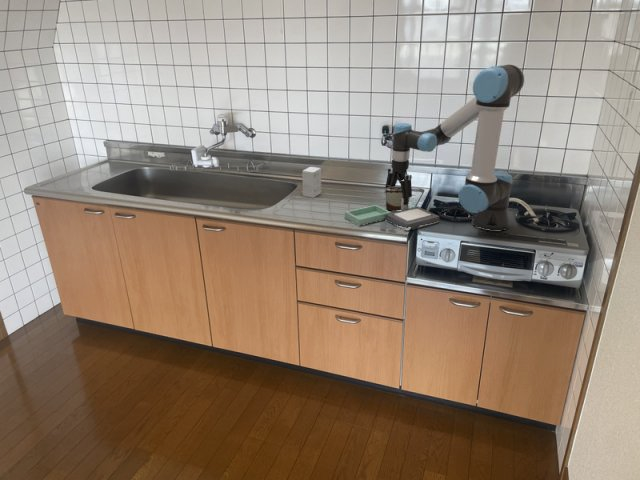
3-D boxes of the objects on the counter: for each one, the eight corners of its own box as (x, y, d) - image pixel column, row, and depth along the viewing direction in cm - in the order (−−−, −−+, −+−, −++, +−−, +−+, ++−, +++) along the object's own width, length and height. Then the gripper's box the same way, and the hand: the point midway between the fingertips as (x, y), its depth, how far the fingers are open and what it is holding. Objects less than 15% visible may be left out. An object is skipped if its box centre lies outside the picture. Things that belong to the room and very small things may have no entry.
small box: (310, 191, 250) (310, 166, 244) (321, 193, 247) (321, 168, 242) (302, 196, 243) (302, 170, 238) (313, 198, 240) (313, 172, 235)
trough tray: (390, 218, 216) (391, 212, 215) (359, 226, 208) (359, 219, 207) (375, 210, 224) (376, 204, 223) (344, 218, 216) (344, 211, 215)
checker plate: (430, 217, 211) (431, 214, 211) (407, 222, 205) (407, 220, 205) (416, 210, 218) (417, 208, 218) (393, 216, 212) (393, 213, 212)
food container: (410, 207, 229) (412, 186, 225) (410, 212, 223) (412, 190, 219) (383, 205, 230) (384, 185, 226) (382, 210, 225) (384, 189, 221)
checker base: (438, 222, 211) (439, 215, 210) (406, 231, 203) (407, 223, 201) (416, 212, 222) (417, 205, 221) (385, 220, 214) (385, 212, 212)
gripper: (423, 163, 210) (419, 213, 219) (391, 153, 226) (389, 199, 236) (409, 166, 206) (406, 216, 216) (378, 155, 223) (376, 202, 232)
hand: (397, 207), depth 226 cm, fingers closed on food container, 8 cm apart
